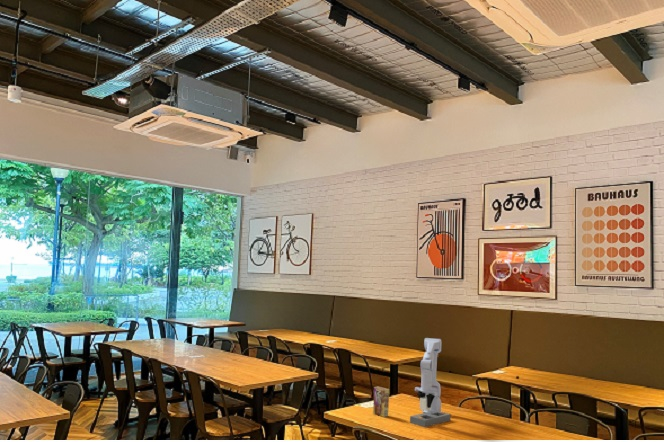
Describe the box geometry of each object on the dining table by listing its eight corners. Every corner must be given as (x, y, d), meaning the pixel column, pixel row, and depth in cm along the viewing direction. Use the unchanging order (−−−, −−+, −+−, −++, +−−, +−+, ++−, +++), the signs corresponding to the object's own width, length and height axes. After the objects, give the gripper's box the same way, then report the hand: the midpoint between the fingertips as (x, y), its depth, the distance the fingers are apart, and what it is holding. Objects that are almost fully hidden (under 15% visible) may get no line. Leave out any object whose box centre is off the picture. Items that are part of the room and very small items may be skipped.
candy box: (388, 416, 297) (389, 389, 299) (383, 417, 294) (384, 389, 296) (377, 412, 304) (378, 386, 305) (372, 413, 301) (373, 386, 303)
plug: (425, 409, 290) (425, 396, 291) (431, 410, 287) (431, 398, 288) (419, 410, 286) (419, 398, 287) (425, 411, 283) (425, 399, 284)
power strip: (436, 416, 302) (436, 409, 302) (450, 420, 294) (450, 413, 295) (410, 422, 286) (410, 415, 286) (424, 427, 278) (424, 419, 279)
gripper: (411, 379, 291) (410, 404, 290) (432, 384, 280) (431, 410, 279) (419, 378, 296) (418, 403, 294) (440, 383, 285) (439, 408, 284)
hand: (425, 406), depth 287 cm, fingers closed on plug, 4 cm apart
